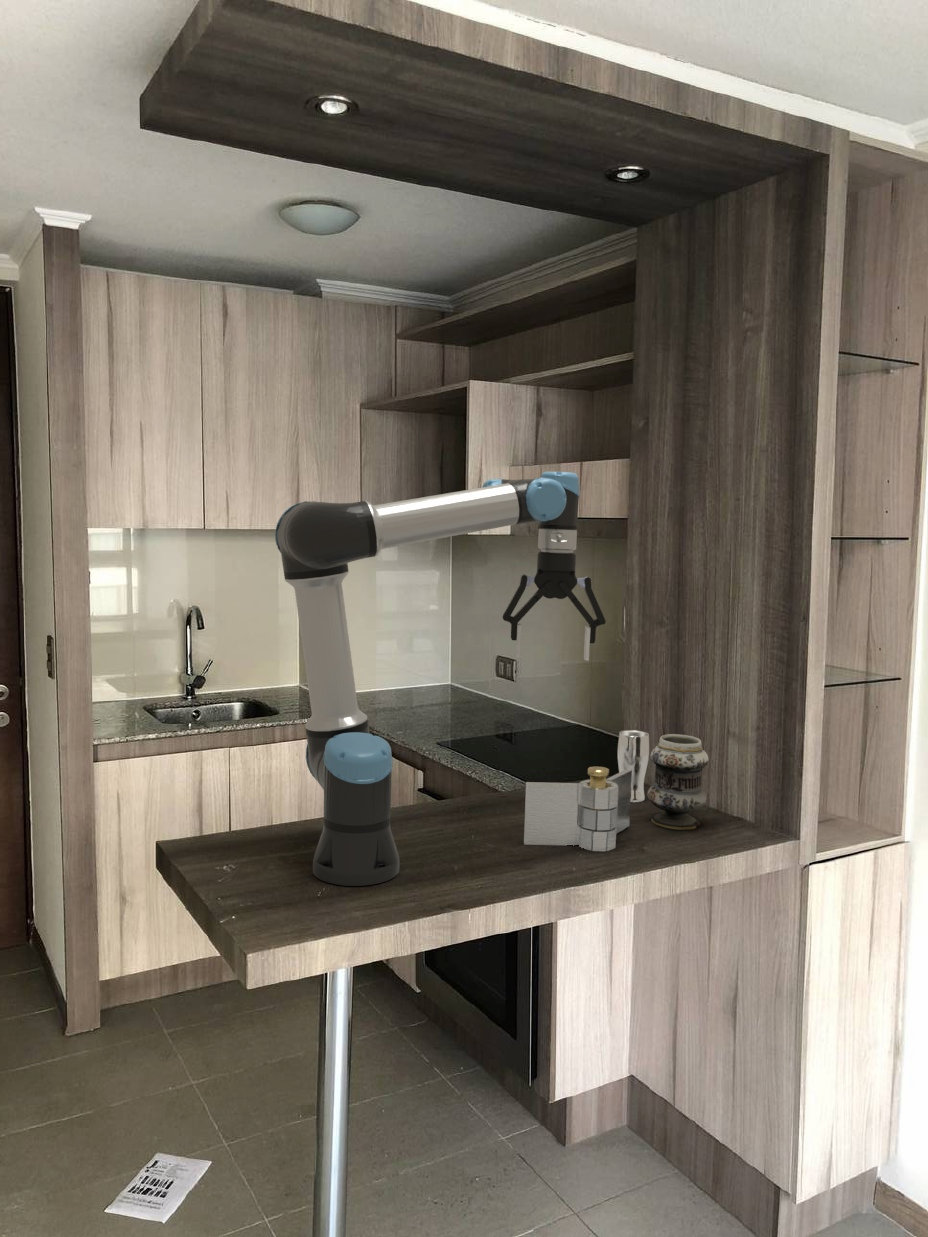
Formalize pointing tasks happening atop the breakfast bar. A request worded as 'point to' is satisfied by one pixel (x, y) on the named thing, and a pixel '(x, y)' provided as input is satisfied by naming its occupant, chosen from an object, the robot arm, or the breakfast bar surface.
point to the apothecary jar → (678, 781)
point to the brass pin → (598, 776)
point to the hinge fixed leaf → (567, 814)
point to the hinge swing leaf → (613, 816)
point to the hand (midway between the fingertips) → (551, 658)
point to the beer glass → (634, 759)
